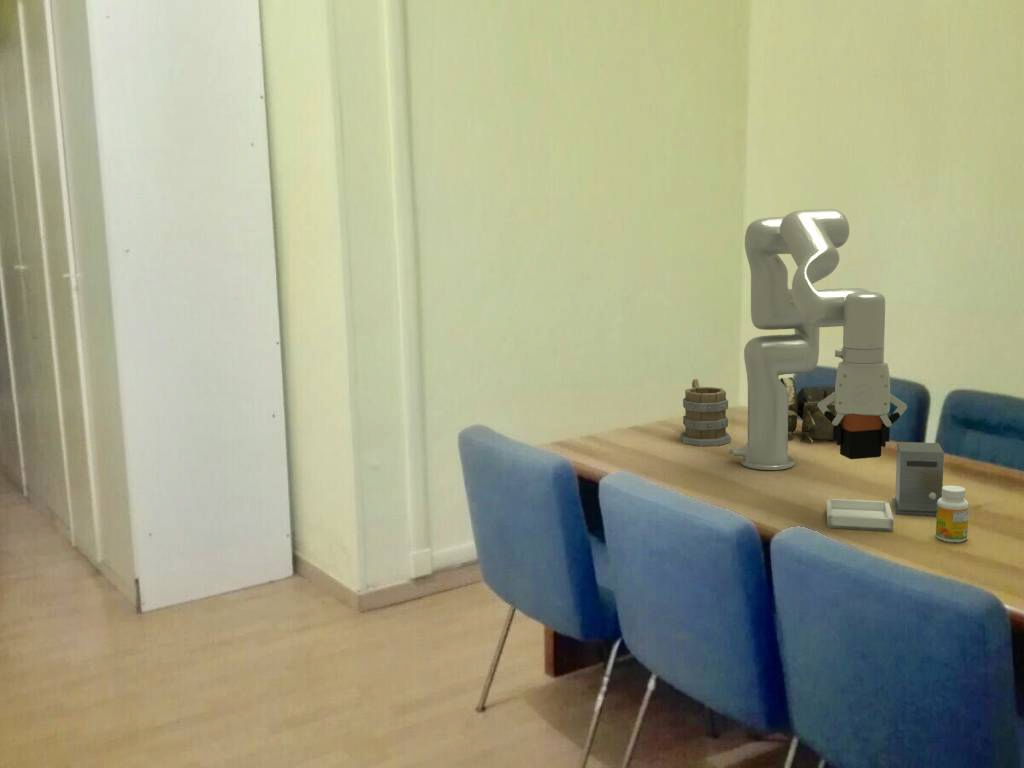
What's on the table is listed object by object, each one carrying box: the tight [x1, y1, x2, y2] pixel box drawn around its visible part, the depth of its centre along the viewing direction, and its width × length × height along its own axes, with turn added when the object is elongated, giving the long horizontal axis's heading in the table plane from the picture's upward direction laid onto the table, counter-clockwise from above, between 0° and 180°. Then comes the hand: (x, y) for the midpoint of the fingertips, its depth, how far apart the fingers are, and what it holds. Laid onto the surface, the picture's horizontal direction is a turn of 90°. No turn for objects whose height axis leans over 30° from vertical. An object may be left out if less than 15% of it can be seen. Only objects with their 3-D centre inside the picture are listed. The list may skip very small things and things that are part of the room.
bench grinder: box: [779, 376, 841, 443], centre depth 263 cm, size 20×22×20 cm
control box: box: [891, 441, 945, 517], centre depth 201 cm, size 9×9×13 cm
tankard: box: [680, 378, 732, 447], centre depth 268 cm, size 20×13×15 cm, turn 179°
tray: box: [825, 498, 895, 532], centre depth 196 cm, size 12×12×2 cm
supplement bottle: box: [935, 485, 970, 543], centre depth 183 cm, size 5×5×10 cm
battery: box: [839, 414, 883, 460], centre depth 193 cm, size 4×7×10 cm, turn 100°
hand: (860, 444), depth 193 cm, fingers closed on battery, 7 cm apart
